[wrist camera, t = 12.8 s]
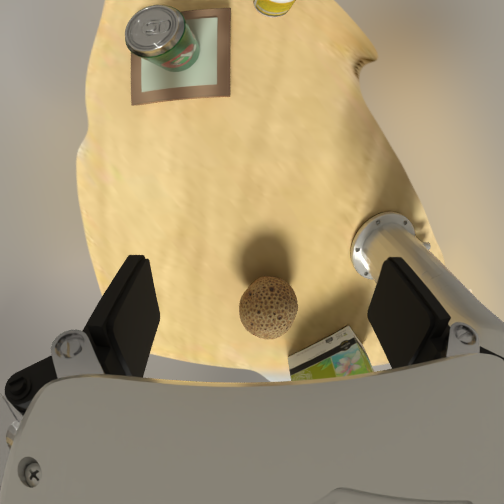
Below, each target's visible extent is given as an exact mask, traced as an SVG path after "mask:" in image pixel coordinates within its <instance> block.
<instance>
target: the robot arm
mask: <svg viewBox="0 0 504 504" xmlns="http://www.w3.org/2000/svg"><path fill="white" fill-rule="evenodd" d="M429 249H430V243H429V242H423V243H422V242H421V241H420V240H419V239H417V238H416V237H415V231H414V227H413V225H412V223H411V222H410V221H409V220H408V219H407V218H406V217H405V216H403V215H402V214H400V213H397V212H384V213H380V214H378V215H375V216H374V217H372V218H370V219H369V220H368V221H367V222H366V223H364V224H363V226H362V227H361V228H360V229H359V231H358V232H357V234H356V235H355V238H354V240H353V242H352V246H351V261H352V264H353V266H354V268H355V269H356V271H357V272H358V273H359V274H360V275H361V276H363V277H365V278H368V279H373V280H374V281H375V282H376V283H377V285H376V288H375V291H374V294H373V297H372V300H371V303H370V306H369V309H368V313H367V315H368V319H369V321H370V323H371V325H372V327H373V329H374V331H375V333H376V335H377V338H378V340H379V342H380V344H381V346H382V348H383V350H384V352H385V354H386V356H387V359H388V361H389V363H390V365H391V367H392V369H388V370H383V371H377V372H371V373H364V374H357V375H350V376H342V377H334V378H324V379H313V380H301V381H285V382H258V383H220V382H194V381H178V380H164V379H152V378H143V375H144V371H145V368H146V364H147V361H148V357H149V354H150V351H151V347H152V344H153V341H154V337H155V334H156V331H157V328H158V324H159V321H160V311H159V307H158V302H157V297H156V293H155V288H154V283H153V278H152V272H151V267H150V262H149V259H145V257H144V255H129V256H128V257H127V259H126V260H125V262H124V263H123V265H122V266H121V268H120V269H119V271H118V273H117V274H116V276H115V277H114V279H113V280H112V282H111V284H110V285H109V287H108V288H107V290H106V291H105V293H104V295H103V296H102V298H101V300H100V301H99V303H98V305H97V307H96V308H95V310H94V312H93V313H92V315H91V317H90V319H89V320H88V322H87V324H86V326H85V327H84V330H83V331H80V330H69V331H66V332H63V333H62V334H60V335H59V336H58V337H57V338H56V339H55V340H54V341H53V343H52V346H51V354H52V356H49V357H48V358H45V359H44V360H41V361H39V362H37V363H35V364H33V365H31V366H29V367H27V368H25V369H23V370H21V371H19V372H17V373H15V374H14V375H12V376H11V377H10V378H9V379H8V381H7V383H6V386H5V395H4V396H2V395H1V394H0V504H504V322H502V321H501V320H500V319H499V318H498V317H497V316H496V315H494V314H493V313H492V312H491V311H490V310H488V309H487V308H486V307H485V306H484V305H483V304H482V303H481V302H480V301H479V300H477V299H476V297H475V296H474V295H473V294H472V293H471V292H470V291H469V290H468V289H467V288H466V287H465V286H464V285H463V284H462V283H461V282H460V281H459V280H458V279H457V278H456V277H455V276H454V275H453V274H452V273H451V272H450V271H449V270H448V269H447V268H446V267H445V266H444V265H443V264H442V263H441V262H440V261H439V260H438V259H437V258H436V257H435V256H434V255H433V254H432V253H431V252H430V251H429Z"/></svg>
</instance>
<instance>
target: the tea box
mask: <svg viewBox="0 0 504 504" xmlns="http://www.w3.org/2000/svg"><path fill="white" fill-rule="evenodd" d="M288 364H289V370H290V376H291V381H301V380H313V379H324V378H334V377H342V376H350V375H357V374H364V373H371V372H374V370H373V368H372V365H371V363H370V360H369V358H368V356H367V353H366V351H365V349H364V347H363V345H362V343H361V342H360V341H359V339H358V338H357V337H356V335H355V334H354V332H353V331H352V329H351V328H350V326H349V325H348V326H347V327H345V328H344V329H342V330H340V331H338V332H336V333H335V334H333V335H331V336H329V337H327V338H325V339H323V340H321V341H320V342H318V343H316V344H313V345H311V346H310V347H308V348H306V349H304V350H302V351H299V352H297V353H295V354H293V355H291V356H289V357H288Z"/></svg>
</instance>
